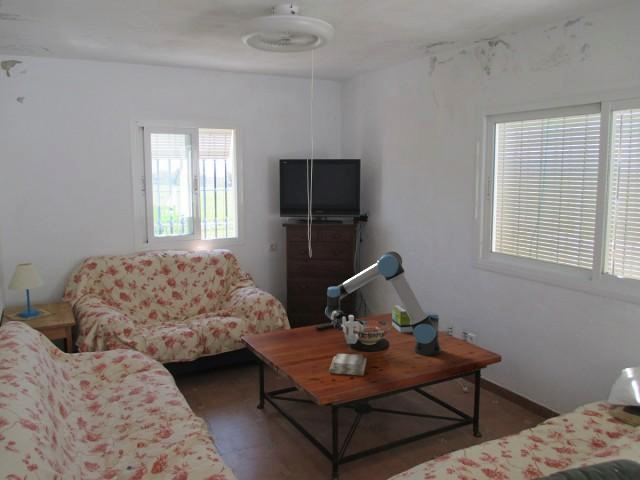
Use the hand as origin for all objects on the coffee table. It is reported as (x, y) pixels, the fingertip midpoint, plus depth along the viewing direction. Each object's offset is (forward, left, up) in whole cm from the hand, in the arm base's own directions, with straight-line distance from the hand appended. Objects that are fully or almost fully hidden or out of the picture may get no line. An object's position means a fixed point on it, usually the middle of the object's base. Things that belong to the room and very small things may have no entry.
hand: (354, 329), depth 275 cm
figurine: (+2, -4, -9) cm, 10 cm away
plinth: (+3, 0, -21) cm, 22 cm away
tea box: (-25, -73, -22) cm, 80 cm away
